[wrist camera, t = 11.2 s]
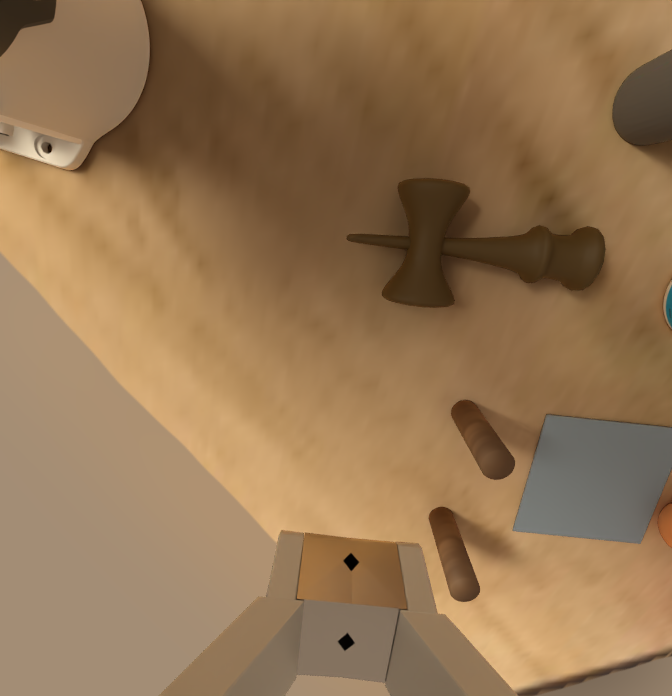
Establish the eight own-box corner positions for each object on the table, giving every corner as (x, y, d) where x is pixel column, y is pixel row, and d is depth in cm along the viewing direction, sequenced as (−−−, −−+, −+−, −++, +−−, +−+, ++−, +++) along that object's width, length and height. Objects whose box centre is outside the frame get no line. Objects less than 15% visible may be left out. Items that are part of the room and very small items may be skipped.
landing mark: (512, 529, 44) (513, 531, 43) (546, 414, 39) (547, 415, 39) (639, 542, 44) (640, 543, 44) (686, 428, 40) (687, 429, 39)
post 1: (426, 525, 44) (447, 600, 35) (431, 506, 43) (453, 577, 34) (450, 528, 44) (476, 603, 35) (455, 508, 43) (483, 580, 34)
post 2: (448, 422, 40) (477, 477, 31) (453, 398, 39) (484, 448, 31) (474, 425, 40) (510, 481, 31) (480, 401, 39) (518, 452, 31)
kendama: (555, 310, 37) (340, 292, 36) (582, 200, 34) (350, 177, 34) (596, 325, 31) (341, 303, 31) (633, 194, 29) (354, 166, 28)
